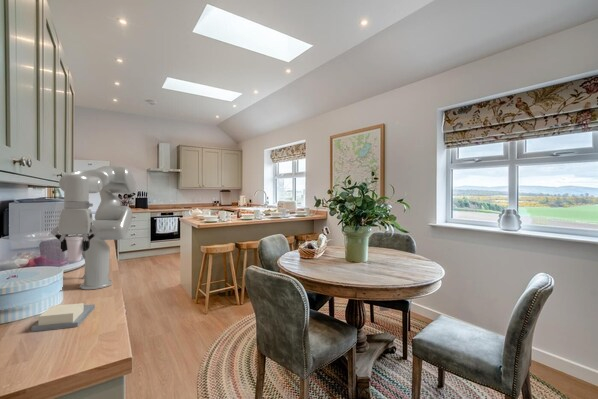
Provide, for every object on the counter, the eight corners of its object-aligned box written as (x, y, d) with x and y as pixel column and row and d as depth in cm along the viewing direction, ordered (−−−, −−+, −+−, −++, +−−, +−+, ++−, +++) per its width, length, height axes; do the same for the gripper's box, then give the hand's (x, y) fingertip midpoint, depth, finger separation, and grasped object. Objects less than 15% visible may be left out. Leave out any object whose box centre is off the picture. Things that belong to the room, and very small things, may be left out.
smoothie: (73, 262, 104) (74, 226, 104) (59, 261, 105) (60, 225, 105) (89, 259, 110) (90, 225, 110) (76, 257, 112) (77, 224, 111)
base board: (55, 311, 101) (56, 299, 101) (94, 308, 105) (94, 296, 105) (31, 331, 86) (31, 317, 86) (77, 326, 90) (78, 313, 90)
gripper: (105, 205, 114) (103, 248, 114) (53, 204, 108) (52, 249, 108) (99, 207, 107) (97, 252, 107) (44, 205, 101) (42, 253, 101)
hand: (75, 250), depth 108 cm, fingers closed on smoothie, 6 cm apart
